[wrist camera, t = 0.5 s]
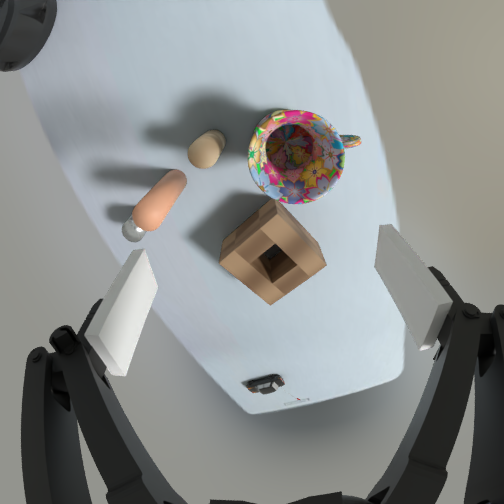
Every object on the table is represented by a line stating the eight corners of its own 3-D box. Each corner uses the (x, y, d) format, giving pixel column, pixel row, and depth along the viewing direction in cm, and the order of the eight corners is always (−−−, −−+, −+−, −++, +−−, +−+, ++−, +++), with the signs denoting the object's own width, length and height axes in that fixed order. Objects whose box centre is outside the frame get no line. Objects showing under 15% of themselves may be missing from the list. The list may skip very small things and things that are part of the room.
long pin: (159, 181, 37) (126, 217, 27) (174, 164, 36) (143, 195, 26) (176, 196, 38) (149, 236, 28) (191, 180, 37) (168, 216, 27)
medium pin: (195, 142, 34) (181, 154, 28) (213, 124, 33) (202, 132, 26) (213, 158, 36) (203, 174, 29) (230, 141, 34) (225, 153, 28)
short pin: (130, 216, 40) (117, 231, 35) (142, 201, 39) (129, 216, 34) (146, 229, 41) (135, 246, 37) (158, 216, 40) (147, 231, 36)
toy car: (245, 380, 61) (244, 409, 54) (293, 366, 58) (297, 396, 51) (252, 388, 63) (252, 416, 56) (299, 374, 60) (303, 403, 53)
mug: (260, 182, 37) (262, 214, 28) (240, 116, 33) (235, 124, 24) (345, 162, 36) (375, 187, 27) (331, 96, 31) (361, 97, 22)
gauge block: (222, 240, 42) (218, 263, 37) (273, 196, 38) (277, 213, 33) (268, 280, 46) (270, 305, 40) (318, 242, 42) (326, 265, 37)
